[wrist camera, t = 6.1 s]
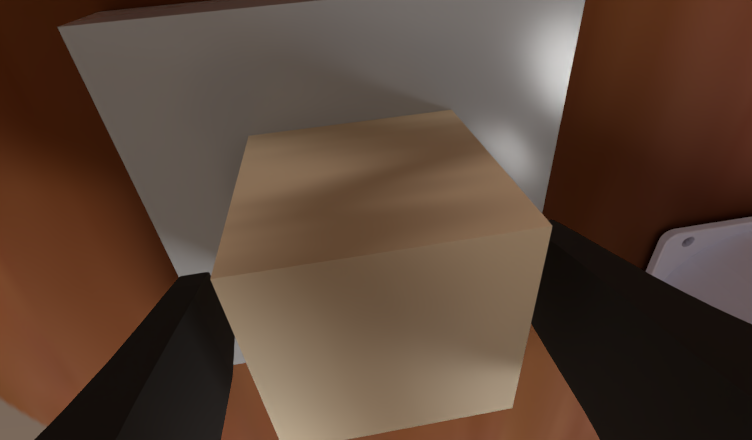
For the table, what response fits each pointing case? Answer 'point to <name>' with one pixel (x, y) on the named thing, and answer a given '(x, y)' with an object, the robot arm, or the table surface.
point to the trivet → (313, 88)
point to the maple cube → (379, 275)
